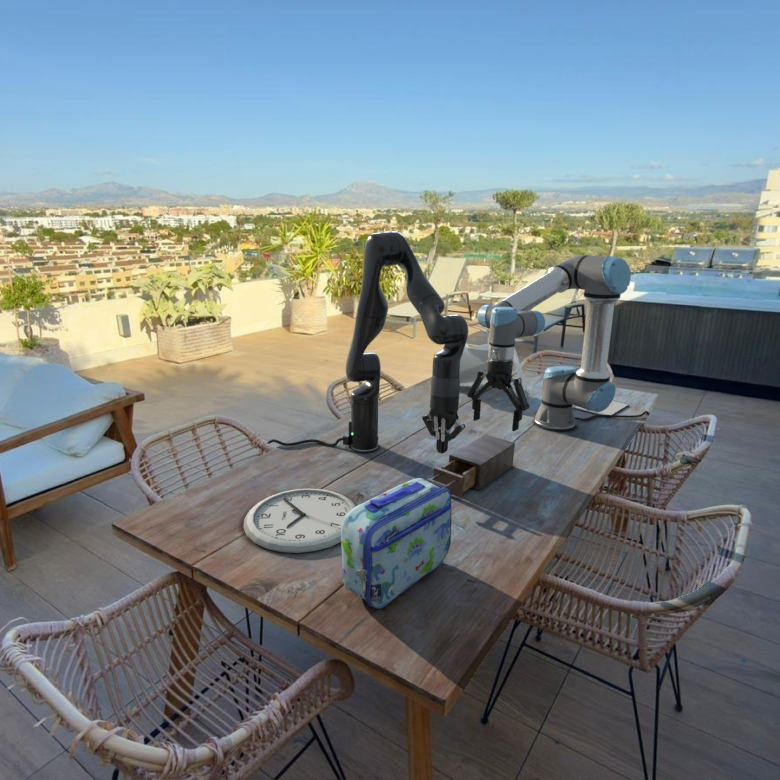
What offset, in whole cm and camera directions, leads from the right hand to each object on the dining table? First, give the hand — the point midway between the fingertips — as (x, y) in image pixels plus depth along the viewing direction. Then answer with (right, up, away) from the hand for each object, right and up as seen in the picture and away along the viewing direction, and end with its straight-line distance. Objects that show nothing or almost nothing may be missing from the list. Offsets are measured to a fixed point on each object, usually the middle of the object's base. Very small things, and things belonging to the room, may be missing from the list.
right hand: (495, 424), depth 164 cm
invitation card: (+58, +4, +62) cm, 85 cm away
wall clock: (-56, -23, -28) cm, 67 cm away
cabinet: (-5, -15, -1) cm, 16 cm away
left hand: (-19, -6, -22) cm, 30 cm away
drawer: (-12, -17, -10) cm, 23 cm away
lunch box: (-31, -30, -51) cm, 67 cm away
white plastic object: (+9, +10, +79) cm, 80 cm away
